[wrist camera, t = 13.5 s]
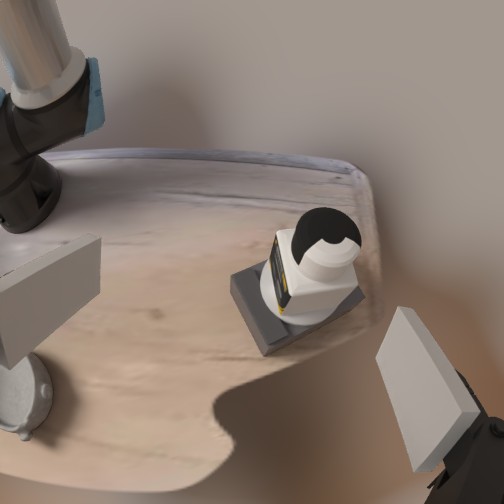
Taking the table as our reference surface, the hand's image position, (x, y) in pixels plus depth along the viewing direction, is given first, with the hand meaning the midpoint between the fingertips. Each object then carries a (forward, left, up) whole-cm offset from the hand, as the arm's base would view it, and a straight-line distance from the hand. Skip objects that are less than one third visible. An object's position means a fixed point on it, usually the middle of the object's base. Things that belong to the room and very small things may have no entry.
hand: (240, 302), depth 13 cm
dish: (-8, -31, -30) cm, 44 cm away
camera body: (-5, +12, -30) cm, 32 cm away
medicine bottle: (-5, +12, -22) cm, 26 cm away
